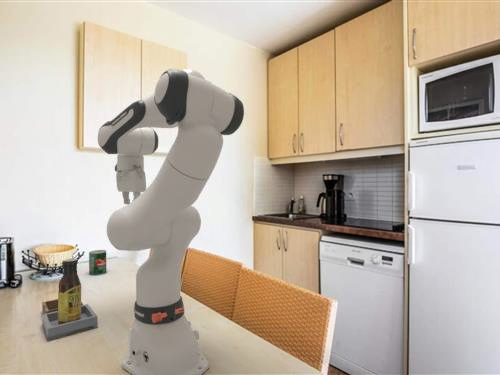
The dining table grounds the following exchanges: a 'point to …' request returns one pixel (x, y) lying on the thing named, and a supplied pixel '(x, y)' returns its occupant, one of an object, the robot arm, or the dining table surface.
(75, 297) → the sauce bottle
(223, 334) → the dining table surface
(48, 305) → the walnut collar
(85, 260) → the dining table surface
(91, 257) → the canned tomato
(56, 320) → the grey tray
